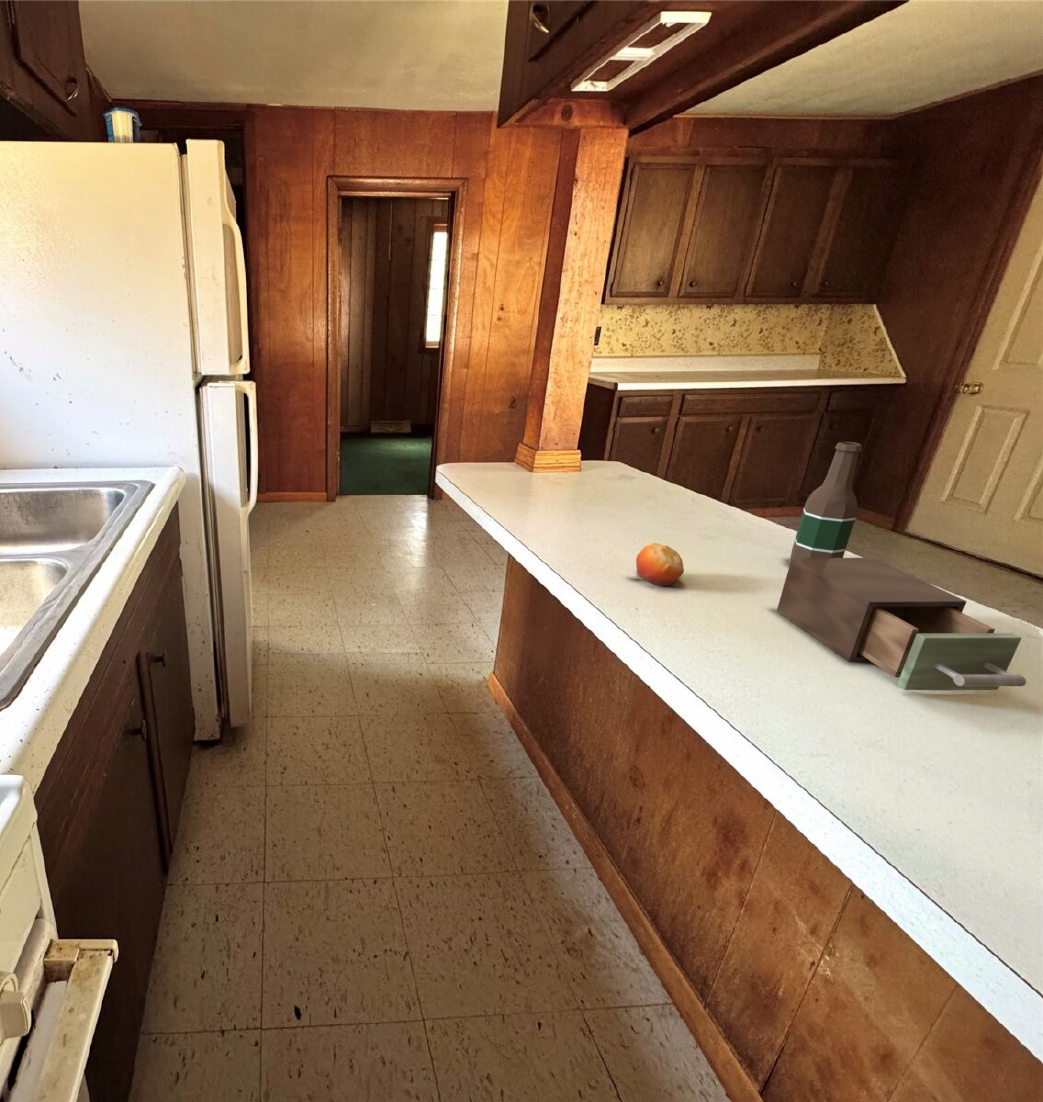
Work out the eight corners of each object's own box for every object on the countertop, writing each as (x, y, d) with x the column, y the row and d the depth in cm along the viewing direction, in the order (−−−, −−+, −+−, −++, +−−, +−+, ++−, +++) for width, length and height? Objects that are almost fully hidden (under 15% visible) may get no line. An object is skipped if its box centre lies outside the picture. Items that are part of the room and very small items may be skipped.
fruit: (632, 559, 119) (661, 531, 114) (666, 588, 116) (698, 560, 111) (616, 572, 114) (646, 543, 109) (651, 602, 111) (684, 574, 106)
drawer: (1032, 710, 74) (1059, 655, 71) (933, 710, 75) (956, 655, 72) (901, 634, 91) (919, 587, 88) (822, 634, 92) (837, 588, 89)
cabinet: (941, 661, 86) (967, 601, 82) (848, 661, 87) (869, 602, 83) (855, 610, 100) (873, 557, 97) (776, 611, 101) (791, 558, 97)
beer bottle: (802, 574, 114) (839, 448, 105) (779, 558, 121) (812, 438, 112) (848, 575, 112) (890, 448, 104) (823, 559, 120) (860, 438, 111)
